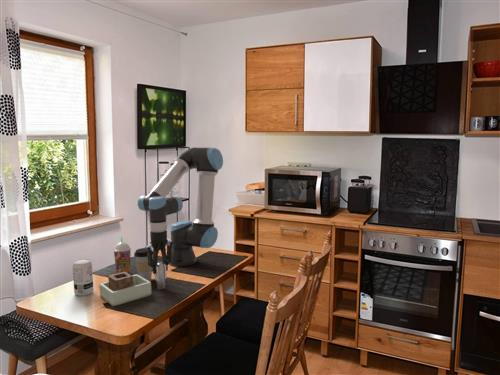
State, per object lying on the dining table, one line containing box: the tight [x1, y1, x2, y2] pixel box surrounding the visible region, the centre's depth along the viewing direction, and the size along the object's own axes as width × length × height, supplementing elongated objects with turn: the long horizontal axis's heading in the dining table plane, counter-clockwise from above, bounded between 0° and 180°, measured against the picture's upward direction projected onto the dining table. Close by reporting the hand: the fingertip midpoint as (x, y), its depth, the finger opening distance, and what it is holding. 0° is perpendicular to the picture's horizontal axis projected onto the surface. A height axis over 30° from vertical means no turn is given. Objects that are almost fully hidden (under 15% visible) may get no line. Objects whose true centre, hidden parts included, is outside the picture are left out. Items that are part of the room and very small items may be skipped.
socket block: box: [107, 272, 133, 292], centre depth 185 cm, size 8×8×10 cm
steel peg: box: [156, 261, 166, 290], centre depth 194 cm, size 4×4×12 cm
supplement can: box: [71, 258, 95, 297], centre depth 189 cm, size 8×8×15 cm
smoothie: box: [113, 236, 131, 274], centre depth 213 cm, size 8×8×20 cm
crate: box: [99, 273, 152, 307], centre depth 187 cm, size 18×14×6 cm
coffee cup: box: [133, 247, 153, 281], centre depth 206 cm, size 9×9×15 cm
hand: (160, 278), depth 195 cm, fingers closed on steel peg, 3 cm apart
